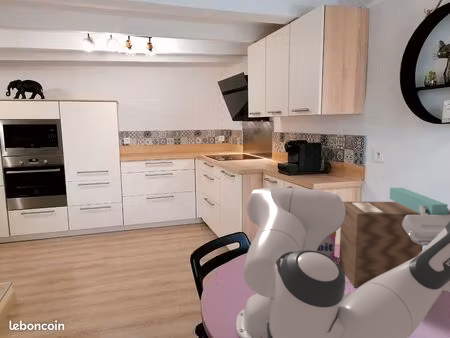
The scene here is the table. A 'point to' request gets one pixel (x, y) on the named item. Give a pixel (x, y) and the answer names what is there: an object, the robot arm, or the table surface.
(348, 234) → the stand
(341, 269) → the robot arm
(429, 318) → the table surface
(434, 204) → the beam
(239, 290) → the table surface
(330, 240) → the gum box
